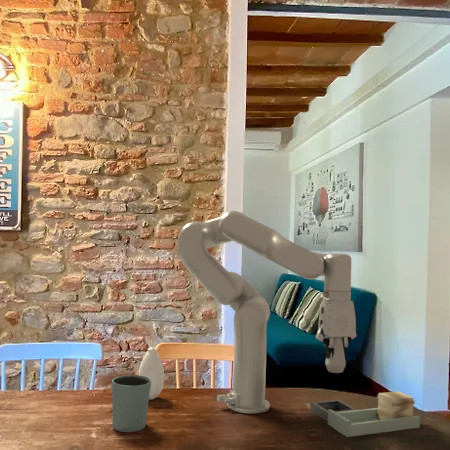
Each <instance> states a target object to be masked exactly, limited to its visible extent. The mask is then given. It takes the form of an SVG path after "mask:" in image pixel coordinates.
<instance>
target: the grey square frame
mask: <svg viewBox="0 0 450 450" xmlns="http://www.w3.org/2000/svg"><path fill="white" fill-rule="evenodd" d="M330 409H331V410H333V411H335V412H345V411H354V410H358V409H356V407H355V408H354V407H353V406H351V405H350V404H347V403H346V402H345V401H342V400H340V399H332V400H322V401H313V402H310V412H311V413H313V414H315V415H316V416H318V417H319V418H321V419H322V418H323V419H322V420H324V421H325V420H326V421H325V422H327V421H328V410H330ZM335 409H337V410H335ZM339 410H340V411H339Z"/></svg>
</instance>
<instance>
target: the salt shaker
mask: <svg viewBox="0 0 450 450" xmlns="http://www.w3.org/2000/svg"><path fill="white" fill-rule="evenodd" d="M332 348H334V355H333V359H332V353H331V354H330V358H329V359H327V358H326V357H325V362H324V363H325V366H326V370H327V371H328V372H330V373H331V374H332V373H333V374H334V373H335V374H340V373H343V372H344V370H345V368H346V364H347V363H346V357H345V355H344V348H343V342H342V337H336V338H334V340H333V347H332Z"/></svg>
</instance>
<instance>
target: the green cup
mask: <svg viewBox="0 0 450 450" xmlns="http://www.w3.org/2000/svg"><path fill="white" fill-rule="evenodd" d="M150 387H151V379H150V378H148V377H144V376H139V375H138V374H137V375H136V374H134V375H133V374H125V375H119V376H115V377H114V378H112V380H111V389H112V390H111V392H112V393H111V395H112V396H111V399H112V401H111V403H112V405H111V407H112V428H113V429H114V430H116V431H118V432H122V433H133V432H137V431H141V430H143V429H145V428H146V425H147V417H148V411H149V410H148V409H149V401H150V400H149V393H150Z"/></svg>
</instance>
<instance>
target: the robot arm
mask: <svg viewBox="0 0 450 450" xmlns="http://www.w3.org/2000/svg"><path fill="white" fill-rule="evenodd" d="M230 242H235V243H236V244H238V245H241V246H243V247H244V248H246V249H248V250H250V251H252V252H254V253H256V254H258V255H259V256H262V257H263V258H265V259H267V260H268V261H271V262H274V263H275V264H277V265H278V266H281V267H283V268H284V269H286V270H289V271H290V272H292V273H294V274H296V275H297V276H300V277H302V278H303V279H307V280H316V279H318V278H319V277H324V280H323V281H324V283H323V284H324V285H323V289H324V290H323V292H320V298H323V300H322V301H321V304H320V309H319V316H318V317H319V318H318V330H317V332H316V334H315V339H317V340H319V341H321V343H323V345H324V347H325V359H326V358H327V359H329V358H330V354H331V353H332V359H333V355H334V348H332V347H333V340H334V338H336V337H342V342H343V348H344V355H345V358H346V357H347V348H348V347H349V343H350V342H351V341H352V340H353V339H355V338H356V337H357V335H358V334H357V333H356V332H357V328H356V327H357V323H356V321H357V319H356V311H355V305H354V301H353V300H351V299H352V297H351V295H352V291H351V290H352V257H351V255H350V254H348V253H323V252H316V251H311V250H309V249H306V248H304V247H303V246H301V245H299V244H298V243H296V242H293V241H292V240H289V239H288V238H286V237H285V236H284V235H282V234H281V233H280V232H278V231H277V230H275V229H274V228H271V227H269V226H267V225H265V224H263V223H261V222H260V221H257V220H255V219H253V218H251V217H249V216H247V215H246V214H245V213H243V212H240V211H237V210H229V211H227V212H225V213H224V214H222V216H220V217H217V218H214V219H209V220H206V221H191V222H188V223H186V224H185V225H184V226H182V228H181V230H180V231H179V234H178V237H177V243H176V244H177V245H176V249H177V255H178V257H179V260H180V261H181V263H182V265H183V266H184V267H185V269H187V271H188V272H189V273H190V274H191V275H192V276H193V277H194V278H195V280H197V282H198V283H199V284H200V285H201V286H202V287H203V288H204V289H205V290H206V291H207V293H208V294H209V295H210V296H211V297H212V298H213V299H214V300H215V301H216V302H217V303H218V304H220V305H223V306H229V307H230V308H231V309H232V310H233V311H234V316H233V335H234V337H233V339H234V340H233V341H234V342H233V343H234V344H233V377H232V378H233V379H232V380H233V381H232V383H233V384H232V389H229V392H228V393H227V394H217V396H216V400H217V402H219V403H220V402H224V404H226V405H227V408H228V409H229V410H231V411H234V412H237V413H241V414H255V415H256V414H262V413H265V412H268V411H269V410H270V408H271V403H270V402H269V401H268V400H266V372H267V369H266V368H267V325H268V320H269V319H270V315H271V308H270V305H269V303H268V301H266V299H265V298H264V297H263V296H262V295H261V294H260V293H259V292H258V291H257V290H256V289H255V288H254V287H253V286H252V285H251V284H250V283H249V281H247V280H246V279H245V278H244V277H243V276H242V275H240V274H239V273H237V272H234V271H228V270H227V269H226V268H225V266H223V265H222V264H221V263H220V262H219V261H218V259H217V258H216V257H215V256H213V255H212V254H211V253H210V251H209V250H208V249H209V248H212V247H216V246H220V245H222V244H226V243H230Z"/></svg>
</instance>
